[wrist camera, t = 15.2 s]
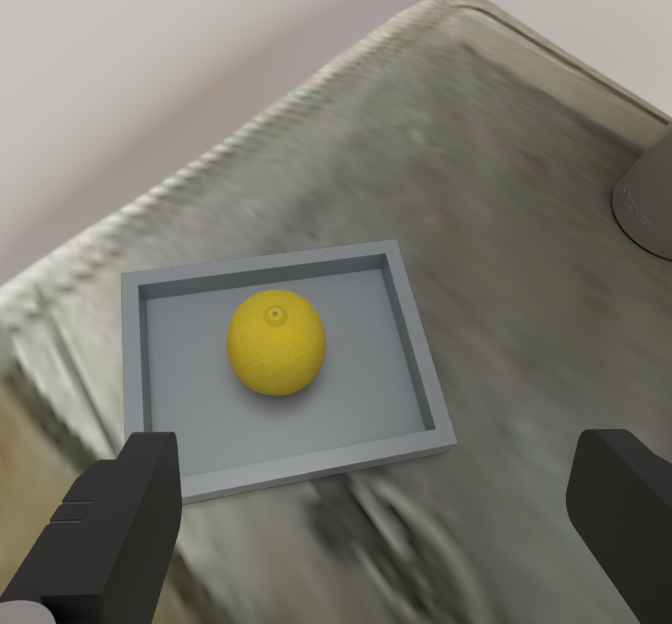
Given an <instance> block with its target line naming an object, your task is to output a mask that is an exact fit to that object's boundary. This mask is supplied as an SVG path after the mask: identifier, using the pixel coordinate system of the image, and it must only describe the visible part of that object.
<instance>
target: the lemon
mask: <svg viewBox="0 0 672 624" xmlns="http://www.w3.org/2000/svg"><path fill="white" fill-rule="evenodd" d="M326 346H327V342H326V334H325V328H324V325H323V323H322V320H321V318H320V316H319V314H318V312H317V311H316V310H315V308H314V307H313V306H312V304H311V303H309V302H308V301H307V300H306V299H304V298H303V297H302V296H300V295H298V294H296V293H293V292H291V291H286V290H282V289H274V290H266V291H262V292H259V293H257V294H255V295H253V296H251V297H249V298H248V299H247V300H246V301H245V302H243V303H242V304H241V305H240V306H239V308H238V309H237V311H236V312H235V313H234V315H233V317H232V319H231V322H230V325H229V327H228V331H227V339H226V349H227V354H228V360H229V362H230V364H231V367H232V369H233V371H234V373H235V374H236V375H237V377H238V378H239V379H240V380H241V381H242V382H243V383H244V384H245V385H246V386H248V387H249V388H251V389H252V390H254V391H256V392H259V393H262V394H264V395H270V396H282V395H289V394H291V393H294V392H296V391H298V390H301V389H302V388H303V387H305V386H306V385H307V384H309V383H310V382H311V381H312V380H313V378H314V377H315V376H316V375H317V373H318V372H319V370H320V368H321V366H322V363H323V361H324V358H325V353H326Z"/></svg>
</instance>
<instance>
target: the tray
mask: <svg viewBox="0 0 672 624" xmlns="http://www.w3.org/2000/svg"><path fill="white" fill-rule="evenodd" d="M274 289H282V290H286V291H291V292H293V293H296V294H298V295H300V296H302V297H303V298H304V299H306V300H307V301H308V302H309V303H311V304H312V306H313V307H314V308H315V310H316V311H317V312H318V314H319V316H320V318H321V320H322V323H323V325H324V328H325V334H326V342H327V346H326V353H325V358H324V361H323V363H322V366H321V368H320V370H319V372H318V373H317V375H316V376H315V377H314V378H313V380H312V381H311V382H310V383H309V384H307V385H306V386H305V387H303V388H302V389H301V390H298V391H296V392H294V393H291V394H289V395H282V396H270V395H264V394H262V393H259V392H256V391H254V390H252V389H251V388H249V387H248V386H246V385H245V384H244V383H243V382H242V381H241V380H240V379H239V378H238V377H237V375H236V374H235V373H234V371H233V369H232V367H231V364H230V362H229V360H228V354H227V349H226V339H227V331H228V327H229V325H230V322H231V319H232V317H233V315H234V313H235V312H236V311H237V309H238V308H239V306H240V305H241V304H242V303H243V302H245V301H246V300H247V299H248V298H249V297H251V296H253V295H255V294H257V293H259V292H262V291H266V290H274ZM121 306H122V348H123V390H124V433H125V443H126V441H127V440H128V438H129V436H130V435H131V433H133V432H174V433H175V434H176V438H177V445H178V457H179V469H180V481H181V493H182V505H186V504H191V503H196V502H201V501H206V500H211V499H216V498H221V497H226V496H231V495H236V494H241V493H246V492H251V491H256V490H261V489H266V488H271V487H276V486H281V485H286V484H291V483H296V482H301V481H306V480H311V479H316V478H321V477H326V476H331V475H336V474H341V473H346V472H351V471H356V470H361V469H366V468H371V467H376V466H381V465H386V464H391V463H396V462H401V461H406V460H411V459H416V458H421V457H426V456H431V455H436V454H441V453H444V452H445V451H447V450H448V449H450V448H451V447H453V446H454V445H456V444H457V440H456V436H455V433H454V430H453V426H452V423H451V420H450V416H449V413H448V410H447V406H446V403H445V400H444V396H443V393H442V390H441V386H440V383H439V380H438V376H437V373H436V370H435V366H434V363H433V360H432V356H431V353H430V350H429V346H428V343H427V340H426V336H425V333H424V330H423V327H422V323H421V320H420V317H419V313H418V310H417V307H416V303H415V300H414V297H413V293H412V290H411V287H410V283H409V280H408V277H407V273H406V270H405V267H404V263H403V260H402V257H401V253H400V250H399V247H398V243H397V240H396V239H394V240H385V241H377V242H369V243H361V244H353V245H345V246H337V247H329V248H321V249H313V250H305V251H297V252H289V253H281V254H273V255H265V256H257V257H249V258H241V259H233V260H225V261H217V262H209V263H201V264H193V265H185V266H177V267H169V268H160V269H152V270H144V271H136V272H128V273H121Z"/></svg>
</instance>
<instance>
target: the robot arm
mask: <svg viewBox="0 0 672 624" xmlns="http://www.w3.org/2000/svg"><path fill="white" fill-rule="evenodd" d="M612 206H613V211H614V213H615V216H616V218H617V220H618V222H619V223H620V225H621V226H622V228H623V229H624V231H625V232H626V233H627V234H628V235H629V236H630V237H631V238H632V239H633V240H634V241H636V242H637V243H638V244H639V245H641V246H642V247H643V248H645V249H647V250H649V251H650V252H652V253H654V254H656V255H659V256H662V257H664V258H667V259H672V121H671V122H670V123H669V124H668V125H667V126H666V128H665V129H664V130H663V131H662V132H661V133H660V134H659V136H658V137H657V138H656V139H655V140H654V141H653V142H652V144H651V145H650V146H649V147H648V148H647V149H646V150H645V151H644V153H643V154H642V155H641V156H640V157H639V158H638V160H637V161H636V162H635V163H634V164H633V165H632V166H631V168H630V169H629V170H628V171H627V172H626V173H625V175H624V176H623V177H622V178H621V179H620V180H619V182H618V183H617V184H616V185H615V188H614V190H613V193H612ZM566 507H567V512H568V515H569V518H570V520H571V523H572V524H573V526H574V528H575V529H576V531H577V532H578V533H579V535H580V536H581V538H582V539H583V541H584V542H585V544H586V545H587V546H588V548H589V549H590V551H591V552H592V554H593V555H594V557H595V558H596V559H597V561H598V562H599V564H600V565H601V567H602V568H603V570H604V571H605V573H606V574H607V575H608V577H609V578H610V580H611V581H612V583H613V584H614V586H615V587H616V588H617V590H618V591H619V593H620V594H621V596H622V597H623V599H624V600H625V601H626V603H627V604H628V606H629V607H630V609H631V610H632V612H633V613H634V614H635V616H636V617H637V619H638V620H639V622H640V623H641V624H672V464H671V463H669V462H668V461H666V460H664V459H662V458H661V457H659V456H657V455H655V454H654V453H653V452H652V451H651V450H649V449H648V448H647V447H646V446H645V445H644V444H643V443H642V442H641V441H640V440H638V439H637V438H636V437H635V436H634V435H633V434H632V433H631V432H629V431H627V430H624V429H589V430H585V431H583V432H582V433H581V435H580V437H579V440H578V444H577V448H576V452H575V457H574V461H573V465H572V470H571V474H570V478H569V483H568V487H567V491H566ZM181 514H182V493H181V481H180V469H179V457H178V445H177V438H176V434H175V433H174V432H133V433H131V435H130V436H129V438H128V440H127V441H126V443H125V445H124V447H123V448H122V450H121V452H120V454H119V456H118V457H117V459H116V460H99V461H98V462H97V463H96V464H94V465H93V466H92V467H90V468H89V469H88V470H87V471H85V472H84V473H83V474H82V475H80V476H79V477H78V478H77V479H76V480H75V482H74V483H73V485H72V486H71V488H70V489H69V491H68V493H67V494H66V496H65V497H64V499H63V500H62V505H59V507H58V508H57V510H56V511H55V513H54V514H53V516H52V517H51V519H50V524H49V525H46V527H45V528H44V530H43V531H42V533H41V535H40V536H39V538H38V539H37V541H36V542H35V544H34V546H33V547H32V549H31V550H30V552H29V553H28V555H27V556H26V558H25V560H24V561H23V563H22V564H21V566H20V567H19V569H18V570H17V572H16V574H15V575H14V577H13V578H12V580H11V581H10V583H9V584H8V586H7V588H6V589H5V591H4V592H3V594H2V595H1V597H0V624H151V622H152V619H153V616H154V612H155V609H156V606H157V602H158V599H159V596H160V592H161V589H162V586H163V582H164V579H165V576H166V573H167V569H168V566H169V563H170V559H171V556H172V553H173V549H174V546H175V543H176V539H177V536H178V532H179V528H180V522H181Z"/></svg>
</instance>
